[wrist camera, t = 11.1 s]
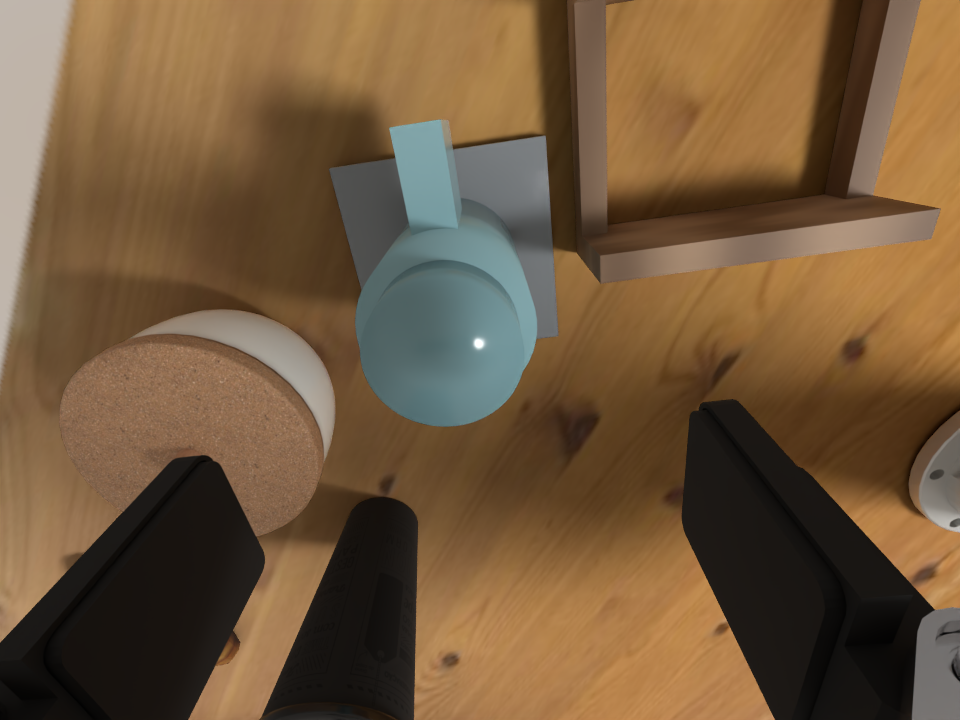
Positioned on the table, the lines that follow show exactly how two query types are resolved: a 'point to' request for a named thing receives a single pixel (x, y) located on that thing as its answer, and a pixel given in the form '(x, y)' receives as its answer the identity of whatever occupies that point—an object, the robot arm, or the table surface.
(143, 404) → the lidded jar
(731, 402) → the robot arm
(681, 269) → the cradle
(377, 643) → the drinking cup
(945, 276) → the table surface
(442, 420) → the jug
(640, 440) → the table surface
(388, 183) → the coaster
